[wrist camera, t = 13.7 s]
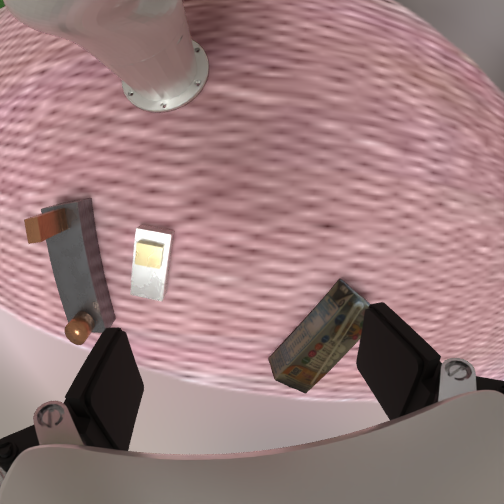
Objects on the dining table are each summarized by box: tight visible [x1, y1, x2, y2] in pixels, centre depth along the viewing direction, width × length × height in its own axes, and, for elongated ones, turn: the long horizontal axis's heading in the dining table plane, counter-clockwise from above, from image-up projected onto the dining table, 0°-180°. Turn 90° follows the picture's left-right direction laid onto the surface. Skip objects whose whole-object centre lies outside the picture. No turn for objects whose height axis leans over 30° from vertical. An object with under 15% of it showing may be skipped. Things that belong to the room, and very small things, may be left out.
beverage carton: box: [268, 279, 370, 393], centre depth 43 cm, size 8×19×7 cm, turn 142°
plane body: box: [24, 198, 116, 345], centre depth 33 cm, size 20×7×12 cm, turn 3°
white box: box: [131, 225, 174, 301], centre depth 38 cm, size 10×5×4 cm, turn 167°
